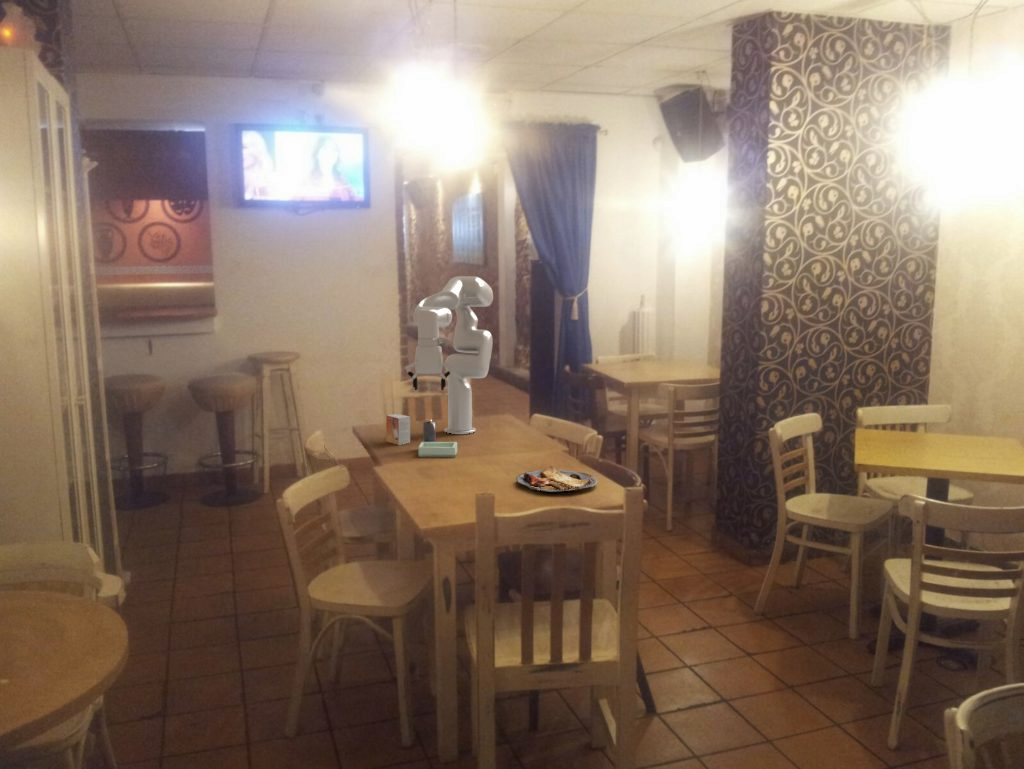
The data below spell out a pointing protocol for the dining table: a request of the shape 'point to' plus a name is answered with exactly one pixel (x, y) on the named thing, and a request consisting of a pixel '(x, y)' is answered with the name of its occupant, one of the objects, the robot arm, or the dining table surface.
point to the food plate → (556, 479)
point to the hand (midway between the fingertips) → (429, 389)
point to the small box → (398, 429)
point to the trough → (437, 449)
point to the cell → (429, 431)
